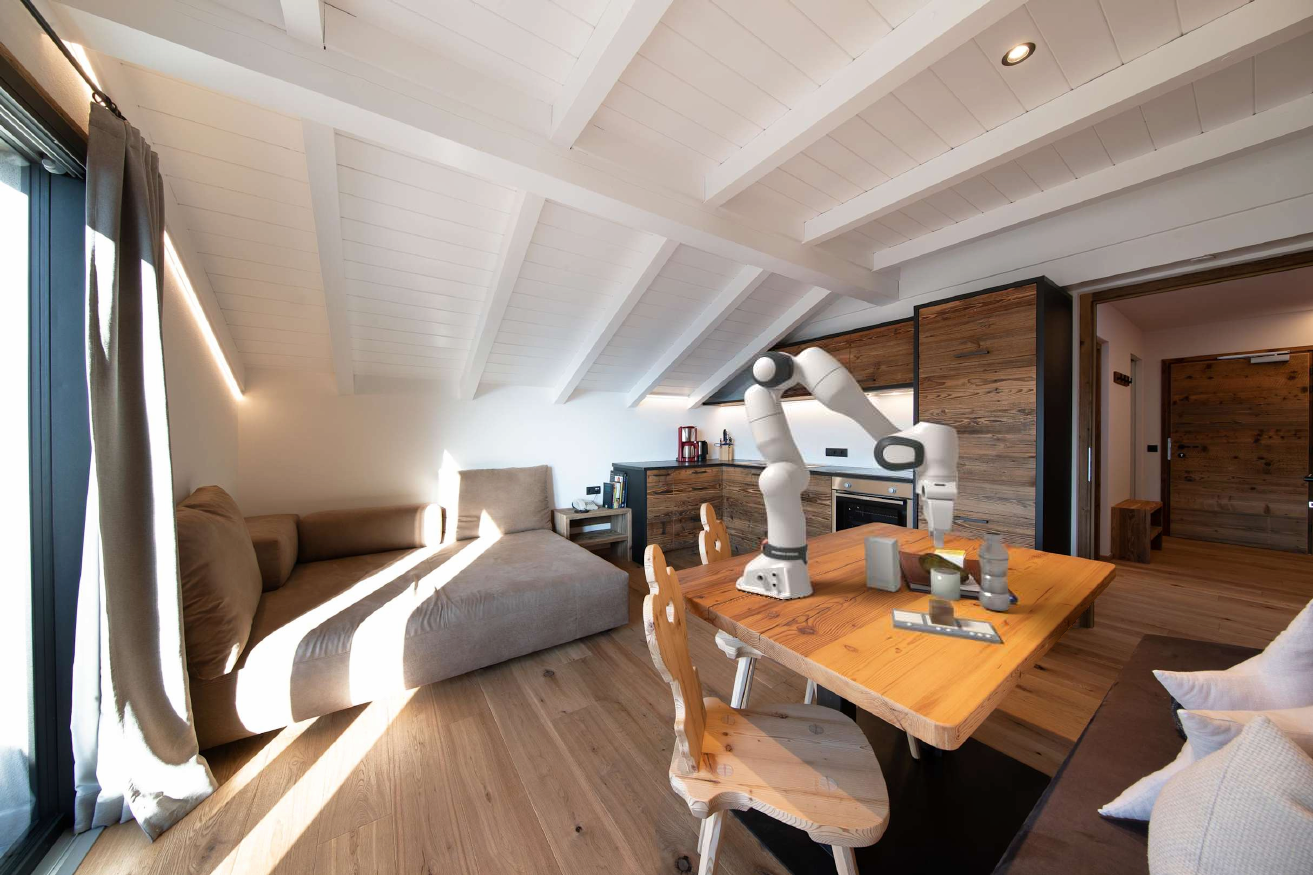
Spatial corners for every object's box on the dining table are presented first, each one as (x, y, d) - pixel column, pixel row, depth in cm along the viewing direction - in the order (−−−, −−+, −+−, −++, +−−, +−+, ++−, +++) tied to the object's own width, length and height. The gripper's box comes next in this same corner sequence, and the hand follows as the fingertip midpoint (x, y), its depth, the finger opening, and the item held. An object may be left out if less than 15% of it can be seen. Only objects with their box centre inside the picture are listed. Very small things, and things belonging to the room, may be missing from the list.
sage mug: (932, 598, 124) (931, 572, 124) (930, 589, 130) (929, 565, 130) (962, 601, 121) (961, 576, 121) (958, 593, 127) (958, 568, 127)
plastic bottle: (1016, 614, 112) (1015, 537, 111) (986, 613, 113) (985, 536, 113) (1001, 604, 118) (1001, 531, 118) (973, 603, 120) (972, 530, 119)
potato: (959, 589, 130) (959, 562, 130) (914, 577, 141) (914, 552, 141) (972, 583, 134) (971, 557, 134) (927, 572, 145) (927, 548, 145)
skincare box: (901, 587, 132) (900, 538, 132) (894, 593, 128) (893, 542, 128) (871, 581, 138) (871, 534, 138) (864, 586, 134) (863, 538, 134)
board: (893, 627, 106) (893, 622, 106) (891, 611, 115) (891, 607, 115) (1000, 643, 97) (1000, 638, 97) (989, 625, 106) (989, 620, 106)
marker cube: (931, 623, 106) (931, 605, 106) (929, 616, 110) (928, 598, 110) (953, 626, 104) (953, 608, 104) (950, 619, 108) (950, 601, 108)
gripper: (917, 481, 118) (917, 531, 119) (926, 491, 100) (925, 551, 100) (945, 482, 116) (944, 534, 116) (959, 493, 97) (958, 554, 98)
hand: (935, 542), depth 108 cm, fingers open, 8 cm apart
